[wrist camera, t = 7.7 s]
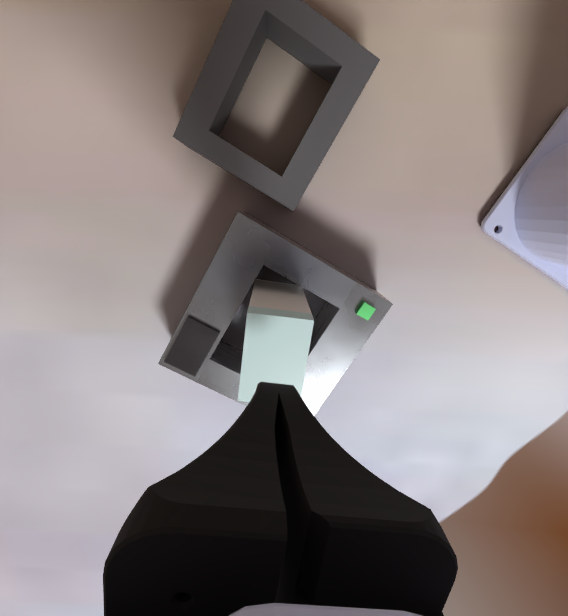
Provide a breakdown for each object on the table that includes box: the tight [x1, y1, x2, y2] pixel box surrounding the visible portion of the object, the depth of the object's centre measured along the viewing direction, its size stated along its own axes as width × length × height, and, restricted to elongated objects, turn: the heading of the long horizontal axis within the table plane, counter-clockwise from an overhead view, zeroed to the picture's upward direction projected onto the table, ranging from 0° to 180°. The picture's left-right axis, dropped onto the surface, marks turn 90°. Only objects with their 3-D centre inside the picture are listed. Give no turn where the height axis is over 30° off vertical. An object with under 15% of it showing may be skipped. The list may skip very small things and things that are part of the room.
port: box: [158, 211, 393, 415], centre depth 20 cm, size 10×10×3 cm
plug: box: [238, 279, 314, 402], centre depth 18 cm, size 3×4×7 cm, turn 172°
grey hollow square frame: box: [173, 0, 380, 211], centre depth 17 cm, size 7×8×2 cm
